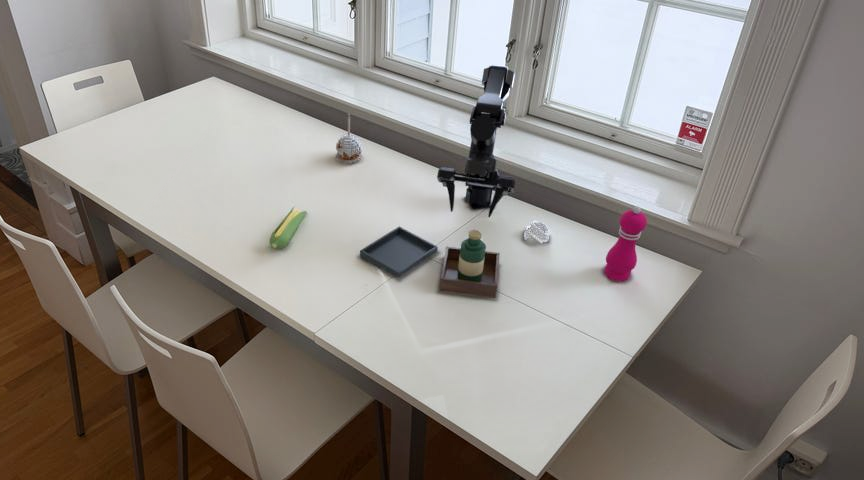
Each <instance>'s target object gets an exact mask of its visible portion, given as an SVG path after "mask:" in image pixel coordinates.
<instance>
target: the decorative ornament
mask: <svg viewBox="0 0 864 480" xmlns="http://www.w3.org/2000/svg"><path fill="white" fill-rule="evenodd" d="M335 144H336V145H335V150H336V156H335V158H337V160H338V161H339V162H342V163H344V164H352V163H353V164H354V163H357V162H359V160H362V157H363V155H362V150H363V143H361V140H360V138H358V136H355V135H354V134H351V114H350V113H347V134H345V135H341V136H340V138H339V139H338V140H337V142H336V143H335Z"/></svg>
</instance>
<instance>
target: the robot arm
mask: <svg viewBox="0 0 864 480" xmlns="http://www.w3.org/2000/svg"><path fill="white" fill-rule="evenodd" d="M514 81H515V71H512V70H511V69H509V67H508V66H506V65H499V64H490V65H489V66H488V67H485V68H483V72H482V77H481V85H482V86H483V95H481V96H479V97H477V101H476V102H475V103H476V104H473V106H472V110H471V113H470V117H469V124H470V129H469V131H470V141H471V142H470V146H469V153H468V158H467V161H466V163H465V168H464V173H459V172H456V168H451V167H444V166H441V167H439V168H438V171H437V176H436V178H437V181H438V183H441V184H442V186H443V187H445V188H446V189H447V193H448V200H449V208H450V213H453V211H454V206H455V191H456V184H455V182H461V183H465V187H467V188H466V191H465V196H464V197H463V199H464V201H465V202H466V204H468V206H469V207H470V208H471V210H473V211H474V210H481V209H488V208H489V209H488V216H487V217H488V218H491V217H492V215H493V213H494V211H495V209H496V207H497V205H498V203H499V202H500V201H501V200H502V199H503V197H505V196H509V194H514V192H515V191H514V190H515V186H516V179H515V177H514V176H507V175H500V174H499V170H498V169H497V160H498V159H497V157H496V158H495V156H494V150H495V144H496V138H497V132H498V129H501V128H502V126H505V123H506V118H507V113H506V109H505V108H503V103H504V102H505V101H506V100H507V98H509V96H510V90H511V89H513V87H514ZM493 191H494V194H493ZM492 196H493V197H492Z"/></svg>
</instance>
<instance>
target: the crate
mask: <svg viewBox="0 0 864 480" xmlns="http://www.w3.org/2000/svg"><path fill="white" fill-rule="evenodd" d="M460 250H461V247H455V246H447V245H446V246H445V251H444V256H443V262H442V268H441V273H440V279H439V290H438V291H441V292H449V293H454V294H455V293H456V294H462V295H463V294H465V295H470V296H479V297H485V298H493V299H496V297H497V290H498V285H499V284H498V283H499V268H500V255H501V254H500V252H495V251H488V250H486V251H485V259H484V265H483V271H482V277H481V280H480V281H479V282H474V281H466V280H459V279H458V277H457V274H458V264H459V256H460Z"/></svg>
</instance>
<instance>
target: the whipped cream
mask: <svg viewBox="0 0 864 480" xmlns="http://www.w3.org/2000/svg"><path fill="white" fill-rule="evenodd" d="M523 234H524V235H523V239H524V241H527V240H528V239H533V240H536V241H537V242H538V243H539V244H543V243H546V242H548V241H549V239H550V234H551V233H550V230H549V227H548V226H547V224H545V222H542V221H539V220H533V221H532V222H531V223H530V224H529V225H527V227H526V228H525V231H524V233H523Z"/></svg>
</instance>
